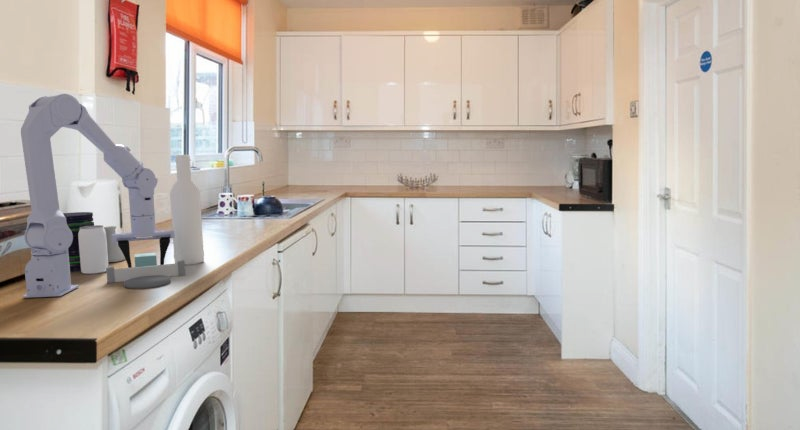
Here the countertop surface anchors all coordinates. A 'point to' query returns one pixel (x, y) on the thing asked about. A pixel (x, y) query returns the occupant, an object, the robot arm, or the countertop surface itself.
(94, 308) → the countertop surface
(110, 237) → the flask
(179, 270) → the acrylic wall
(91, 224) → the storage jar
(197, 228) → the bottle
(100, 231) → the can
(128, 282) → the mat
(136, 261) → the block
